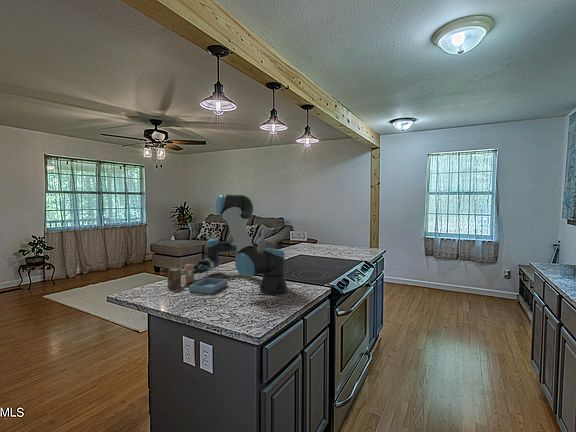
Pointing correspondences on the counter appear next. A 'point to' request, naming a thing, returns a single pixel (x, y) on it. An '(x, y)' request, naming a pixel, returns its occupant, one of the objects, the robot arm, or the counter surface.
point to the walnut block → (174, 278)
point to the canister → (187, 268)
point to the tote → (208, 285)
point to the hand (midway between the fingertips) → (184, 273)
